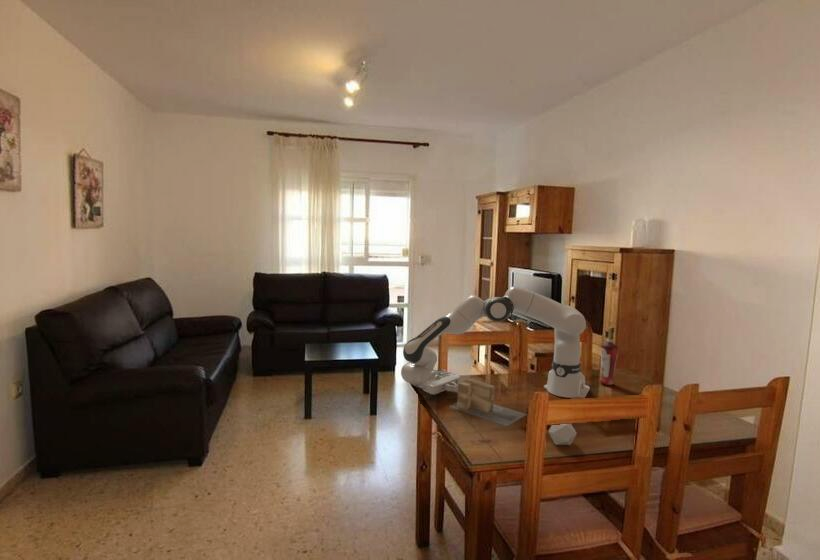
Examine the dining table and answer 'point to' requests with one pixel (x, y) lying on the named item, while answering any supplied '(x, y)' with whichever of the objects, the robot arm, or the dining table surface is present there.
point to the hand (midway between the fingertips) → (457, 388)
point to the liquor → (608, 359)
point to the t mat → (495, 414)
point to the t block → (475, 395)
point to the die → (562, 434)
